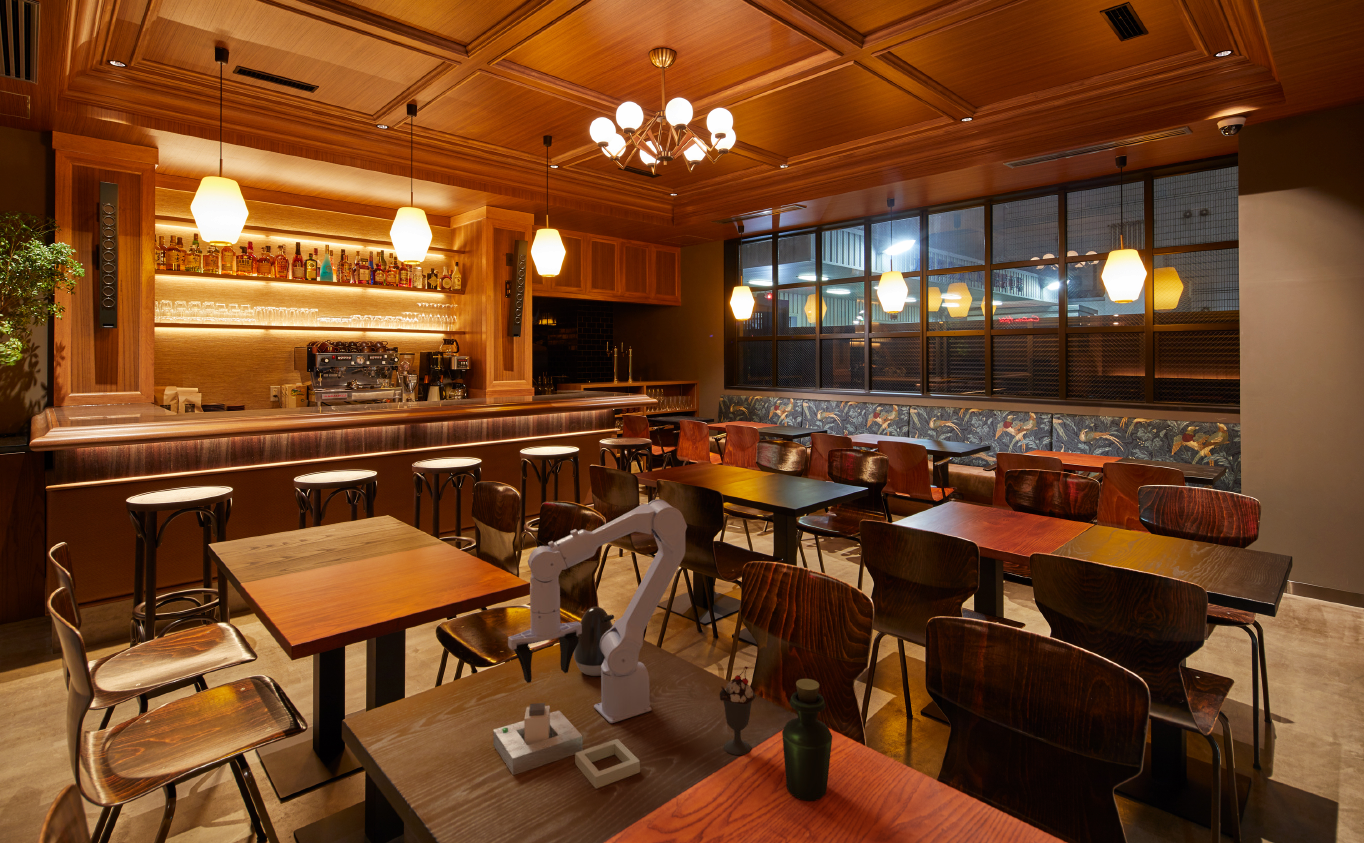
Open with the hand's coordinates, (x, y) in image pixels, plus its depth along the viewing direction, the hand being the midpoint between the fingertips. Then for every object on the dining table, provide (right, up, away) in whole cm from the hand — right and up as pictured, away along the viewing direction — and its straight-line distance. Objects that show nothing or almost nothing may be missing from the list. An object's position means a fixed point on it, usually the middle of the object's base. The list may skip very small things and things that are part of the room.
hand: (546, 675), depth 130 cm
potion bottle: (+47, -11, -21) cm, 53 cm away
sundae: (+37, -10, -9) cm, 39 cm away
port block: (0, -10, -9) cm, 13 cm away
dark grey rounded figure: (+7, -8, +23) cm, 25 cm away
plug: (0, -10, -9) cm, 13 cm away
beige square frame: (+14, -10, -15) cm, 23 cm away
